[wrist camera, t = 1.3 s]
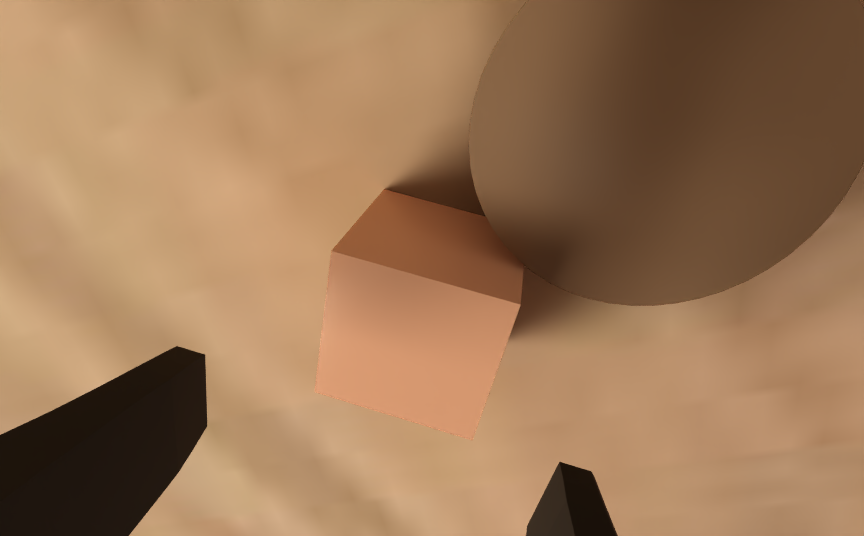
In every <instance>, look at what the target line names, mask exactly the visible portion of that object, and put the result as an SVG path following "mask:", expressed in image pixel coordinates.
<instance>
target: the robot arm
mask: <svg viewBox="0 0 864 536" xmlns="http://www.w3.org/2000/svg"><path fill="white" fill-rule="evenodd" d="M206 427H207V402H206V369H205V355H204V354H201V353H198V352H194V351H191V350H188V349H185V348H181V347H178V346H176V347H174V348H172V349H170V350H168V351H166V352H164V353H162V354H160V355H159V356H157V357H155V358H153V359H151V360H149V361H147V362H145V363H143V364H141V365H140V366H138V367H136V368H134V369H132V370H130V371H128V372H126V373H124V374H122V375H121V376H119V377H117V378H115V379H113V380H111V381H109V382H107V383H105V384H103V385H102V386H100V387H98V388H96V389H94V390H92V391H90V392H88V393H86V394H84V395H82V396H80V397H78V398H76V399H74V400H72V401H70V402H68V403H66V404H64V405H62V406H60V407H58V408H56V409H54V410H52V411H50V412H48V413H46V414H44V415H42V416H40V417H38V418H36V419H33V420H31V421H29V422H27V423H25V424H23V425H21V426H18V427H16V428H14V429H12V430H10V431H8V432H6V433H4V434H1V435H0V536H129V535H130V533H131V532H132V531H133V530H134V528H135V527H136V526H137V525H138V523H139V522H140V521H141V520H142V518H143V517H144V516H145V515H146V513H147V512H148V511H149V509H150V508H151V507H152V506H153V504H154V503H155V502H156V501H157V499H158V498H159V497H160V495H161V494H162V493H163V492H164V490H165V489H166V488H167V487H168V485H169V484H170V483H171V481H172V480H173V479H174V477H175V476H176V475H177V474H178V472H179V471H180V469H181V468H182V466H183V464H184V463H185V461H186V460H187V458H188V457H189V455H190V453H191V452H192V450H193V449H194V447H195V445H196V444H197V442H198V440H199V439H200V437H201V435H202V434H203V432H204V430H205V429H206ZM526 536H618V535H617V533H616V531H615V528H614V526H613V523H612V521H611V518H610V516H609V513H608V511H607V508H606V506H605V503H604V500H603V498H602V495H601V493H600V490H599V488H598V485H597V482H596V480H595V477H594V475H593V474H592V472H591V471H588V470H585V469H581V468H578V467H575V466H572V465H568V464H565V463H562V462H559V464H558V466H557V468H556V470H555V472H554V474H553V476H552V478H551V480H550V482H549V484H548V486H547V488H546V490H545V492H544V494H543V496H542V498H541V500H540V502H539V504H538V506H537V508H536V510H535V512H534V514H533V516H532V518H531V520H530V521H529V523H528V525H527V533H526Z"/></svg>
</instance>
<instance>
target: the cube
mask: <svg viewBox="0 0 864 536" xmlns="http://www.w3.org/2000/svg"><path fill="white" fill-rule="evenodd" d="M523 271H524V264H523V263H521V262H520V261H519V260H518V259H517V258H516V257H515V256H514V255H513V254H512V253H511V252H510V251H509V250H508V248H507V247H506V246H505V245H504V244H503V243H502V241H501V240H500V238H499V237H498V236H497V234H496V233H495V231H494V230H493V229H492V227H491V225H490V223H489V221H488V219H487V217H485V216H481V215H478V214H474V213H470V212H467V211H463V210H459V209H456V208H452V207H448V206H445V205H441V204H437V203H434V202H430V201H426V200H422V199H419V198H415V197H411V196H408V195H404V194H400V193H397V192H393V191H389V190H386V189H384V190H383V191H382V192H381V194H380V195H379V196H378V197H377V198H376V199H375V201H374V202H373V203H372V204H371V205H370V206H369V208H368V209H367V210H366V211H365V212H364V213H363V215H362V216H361V217H360V218H359V219H358V220H357V222H356V223H355V224H354V225H353V226H352V227H351V229H350V230H349V231H348V232H347V233H346V234H345V236H344V237H343V238H342V239H341V240H340V241H339V243H338V244H337V245H336V246H335V247H334V248H333V250H332V251H331V258H330V267H329V275H328V283H327V292H326V300H325V309H324V317H323V325H322V334H321V342H320V351H319V359H318V367H317V376H316V384H315V392H316V393H320V394H323V395H326V396H329V397H333V398H336V399H339V400H342V401H346V402H349V403H352V404H355V405H359V406H362V407H365V408H369V409H372V410H375V411H378V412H382V413H385V414H388V415H391V416H395V417H398V418H401V419H404V420H408V421H411V422H414V423H417V424H421V425H424V426H427V427H431V428H434V429H437V430H440V431H444V432H447V433H450V434H453V435H457V436H460V437H463V438H466V439H470V440H473V438H474V435H475V432H476V429H477V426H478V423H479V421H480V418H481V415H482V412H483V409H484V407H485V404H486V401H487V398H488V395H489V393H490V390H491V387H492V384H493V381H494V378H495V376H496V373H497V370H498V367H499V364H500V362H501V359H502V356H503V353H504V350H505V348H506V345H507V342H508V339H509V336H510V334H511V331H512V328H513V325H514V322H515V319H516V317H517V314H518V311H519V308H520V305H521V296H522V283H523Z"/></svg>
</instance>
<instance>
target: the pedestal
mask: <svg viewBox="0 0 864 536" xmlns="http://www.w3.org/2000/svg"><path fill="white" fill-rule="evenodd" d="M469 156H470V168H471V173H472V178H473V182H474V187H475V191H476V194H477V196H478V199H479V202H480V204H481V207H482V210H483V212H484V214H485V216H486V217H487V219H488V221H489V223H490V225H491V227H492V229H493V230H494V231H495V233H496V234H497V236H498V237H499V238H500V240H501V241H502V243H503V244H504V245H505V246H506V247H507V248H508V250H509V251H510V252H511V253H512V254H513V255H514V256H515V257H516V258H517V259H518V260H519V261H520V262H521V263H523V264H524V265H525V266H526V267H527V268H529V269H530V270H531V271H532V272H534V273H535V274H537V275H538V276H540V277H542V278H543V279H545V280H546V281H548V282H549V283H551V284H553V285H555V286H557V287H560V288H562V289H564V290H566V291H568V292H571V293H573V294H576V295H579V296H582V297H585V298H588V299H592V300H597V301H602V302H606V303H612V304H621V305H631V306H654V305H664V304H674V303H680V302H685V301H690V300H694V299H699V298H703V297H706V296H709V295H712V294H715V293H719V292H722V291H724V290H727V289H729V288H731V287H734V286H736V285H738V284H741V283H743V282H746V281H747V280H749V279H751V278H753V277H755V276H757V275H758V274H760V273H762V272H764V271H766V270H767V269H769V268H771V267H772V266H773V265H775V264H776V263H778V262H779V261H781V260H782V259H784V258H785V257H787V256H788V255H789V254H791V253H792V252H793V251H794V250H795V249H797V248H798V247H799V246H800V245H801V244H802V243H804V242H805V241H806V240H807V239H808V238H809V237H811V236H812V234H813V233H814V232H815V231H816V230H817V229H818V228H819V227H820V226H821V225H822V224H823V223H824V222H825V221H826V220H827V219H828V217H829V216H830V215H831V214H832V212H833V211H834V210H835V208H836V207H837V206H838V204H839V203H840V202H841V200H842V199H843V198H844V196H845V195H846V193H847V192H848V190H849V188H850V187H851V185H852V183H853V181H854V180H855V178H856V176H857V174H858V173H859V171H860V169H861V166H862V164H863V162H864V7H863V5H862V4H861V2H860V1H859V0H528V1H527V2H526V3H525V4H524V6H523V7H522V8H521V10H520V11H519V12H518V13H517V15H516V16H515V17H514V18H513V20H512V21H511V22H510V24H509V25H508V26H507V28H506V29H505V31H504V32H503V34H502V36H501V37H500V39H499V41H498V42H497V44H496V46H495V47H494V49H493V51H492V53H491V55H490V57H489V59H488V62H487V64H486V66H485V68H484V71H483V73H482V75H481V78H480V81H479V85H478V88H477V91H476V94H475V98H474V102H473V108H472V113H471V119H470V129H469Z"/></svg>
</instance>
